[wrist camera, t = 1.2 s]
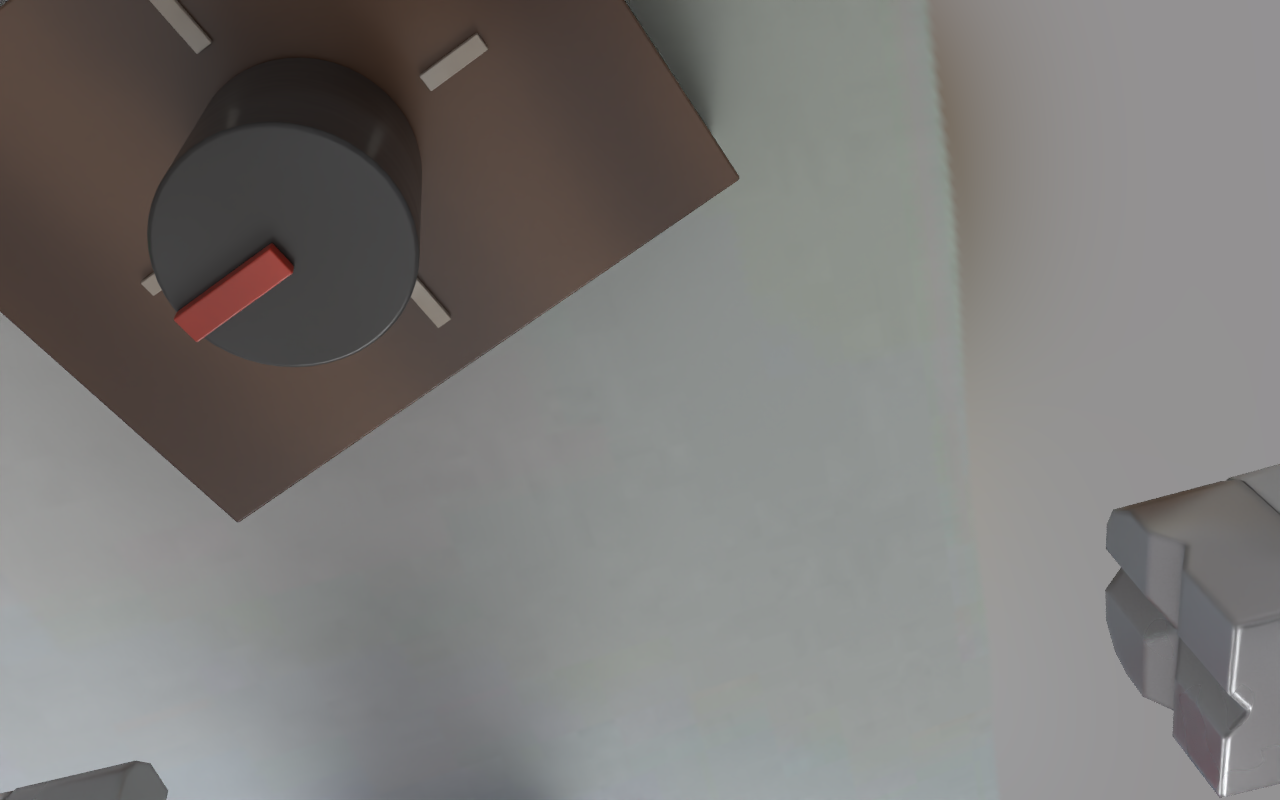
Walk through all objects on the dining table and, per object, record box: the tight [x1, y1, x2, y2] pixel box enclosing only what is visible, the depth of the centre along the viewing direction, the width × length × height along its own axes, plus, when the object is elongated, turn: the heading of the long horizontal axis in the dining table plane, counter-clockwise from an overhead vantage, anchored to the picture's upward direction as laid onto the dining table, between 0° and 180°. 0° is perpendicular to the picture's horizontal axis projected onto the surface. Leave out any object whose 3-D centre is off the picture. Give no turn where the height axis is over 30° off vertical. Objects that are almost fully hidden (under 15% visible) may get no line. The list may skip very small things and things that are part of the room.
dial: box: [147, 58, 422, 367], centre depth 21 cm, size 4×4×5 cm
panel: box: [0, 0, 739, 522], centre depth 25 cm, size 14×11×3 cm
